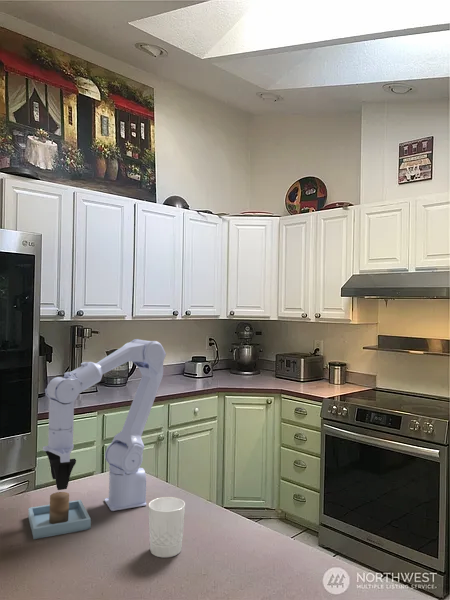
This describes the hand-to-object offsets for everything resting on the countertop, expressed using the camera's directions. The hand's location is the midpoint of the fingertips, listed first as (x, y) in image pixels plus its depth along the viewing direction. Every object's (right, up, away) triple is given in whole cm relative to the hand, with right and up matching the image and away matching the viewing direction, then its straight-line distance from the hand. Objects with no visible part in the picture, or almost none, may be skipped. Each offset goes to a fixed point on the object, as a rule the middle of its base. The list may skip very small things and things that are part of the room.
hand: (59, 483), depth 118 cm
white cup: (+27, -10, -12) cm, 31 cm away
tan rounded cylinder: (0, -9, 0) cm, 9 cm away
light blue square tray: (0, -9, 0) cm, 9 cm away
